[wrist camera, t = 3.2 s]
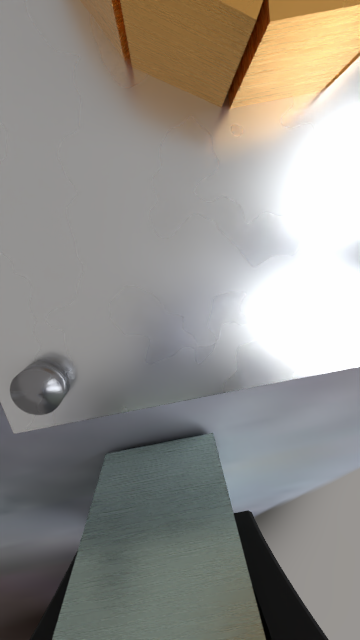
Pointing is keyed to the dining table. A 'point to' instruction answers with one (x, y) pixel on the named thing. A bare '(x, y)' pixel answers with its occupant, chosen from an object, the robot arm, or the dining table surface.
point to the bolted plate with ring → (175, 200)
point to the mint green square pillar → (161, 552)
